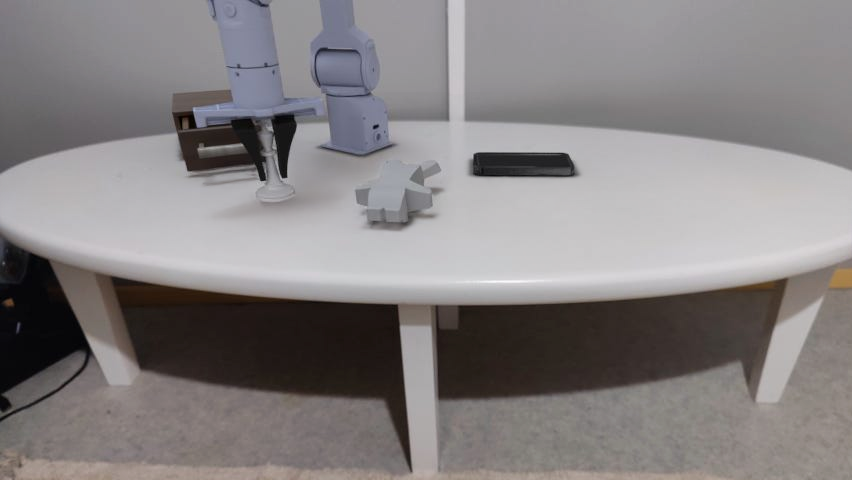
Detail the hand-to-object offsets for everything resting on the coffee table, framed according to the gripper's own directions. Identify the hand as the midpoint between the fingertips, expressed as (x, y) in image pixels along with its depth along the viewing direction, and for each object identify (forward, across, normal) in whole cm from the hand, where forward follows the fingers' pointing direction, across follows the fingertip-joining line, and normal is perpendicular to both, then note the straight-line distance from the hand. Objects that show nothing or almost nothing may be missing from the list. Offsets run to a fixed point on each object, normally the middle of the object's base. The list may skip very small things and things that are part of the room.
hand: (273, 177), depth 71 cm
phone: (+4, +36, 0) cm, 36 cm away
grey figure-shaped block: (+4, +14, -8) cm, 17 cm away
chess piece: (+3, 0, 0) cm, 3 cm away
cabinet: (+3, -5, +33) cm, 33 cm away
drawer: (+3, -5, +20) cm, 21 cm away
